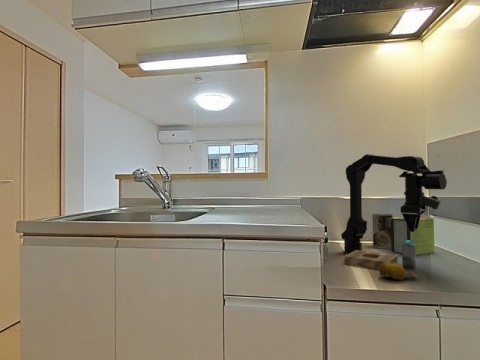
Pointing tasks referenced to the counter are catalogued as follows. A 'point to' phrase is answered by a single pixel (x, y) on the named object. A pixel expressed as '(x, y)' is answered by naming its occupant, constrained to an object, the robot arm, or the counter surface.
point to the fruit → (394, 271)
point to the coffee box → (382, 230)
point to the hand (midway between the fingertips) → (414, 230)
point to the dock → (368, 259)
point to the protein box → (413, 235)
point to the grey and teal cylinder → (409, 254)
